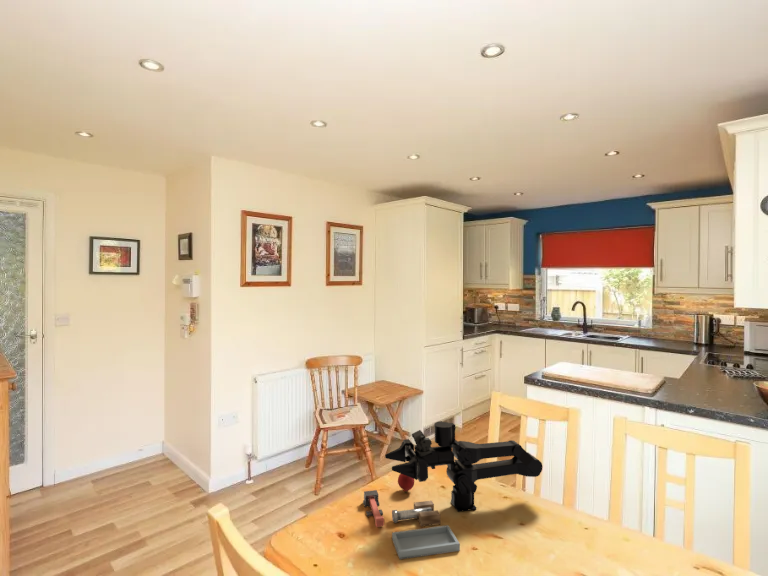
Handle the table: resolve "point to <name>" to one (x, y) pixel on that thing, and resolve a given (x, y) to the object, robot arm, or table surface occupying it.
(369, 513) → the keeper guide
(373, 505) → the keeper bar
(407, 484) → the onion
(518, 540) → the table surface
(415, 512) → the pin
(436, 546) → the tray
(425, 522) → the channel block
